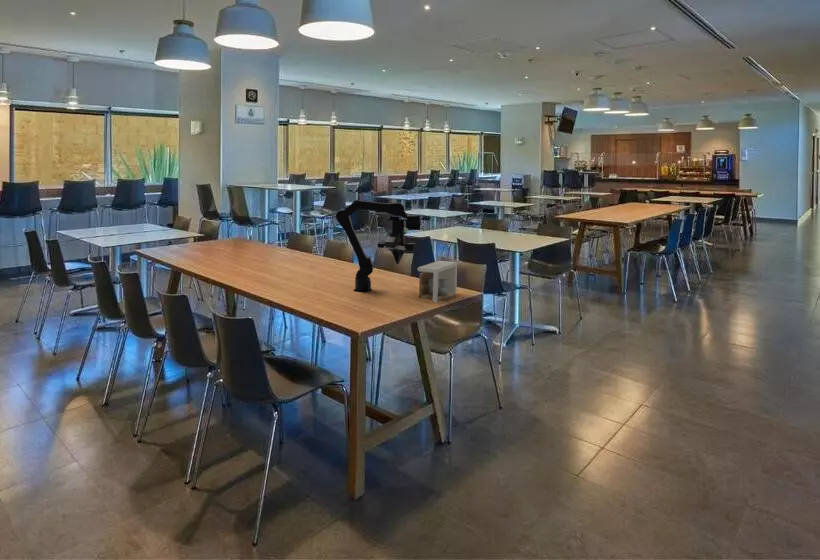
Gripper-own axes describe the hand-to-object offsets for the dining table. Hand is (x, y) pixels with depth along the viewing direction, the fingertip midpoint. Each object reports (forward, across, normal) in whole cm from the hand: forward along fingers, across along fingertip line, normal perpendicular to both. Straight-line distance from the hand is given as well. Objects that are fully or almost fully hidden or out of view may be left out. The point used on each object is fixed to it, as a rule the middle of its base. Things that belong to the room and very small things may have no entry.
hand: (397, 263), depth 278 cm
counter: (+12, +22, -2) cm, 25 cm away
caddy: (+13, +22, -3) cm, 26 cm away
